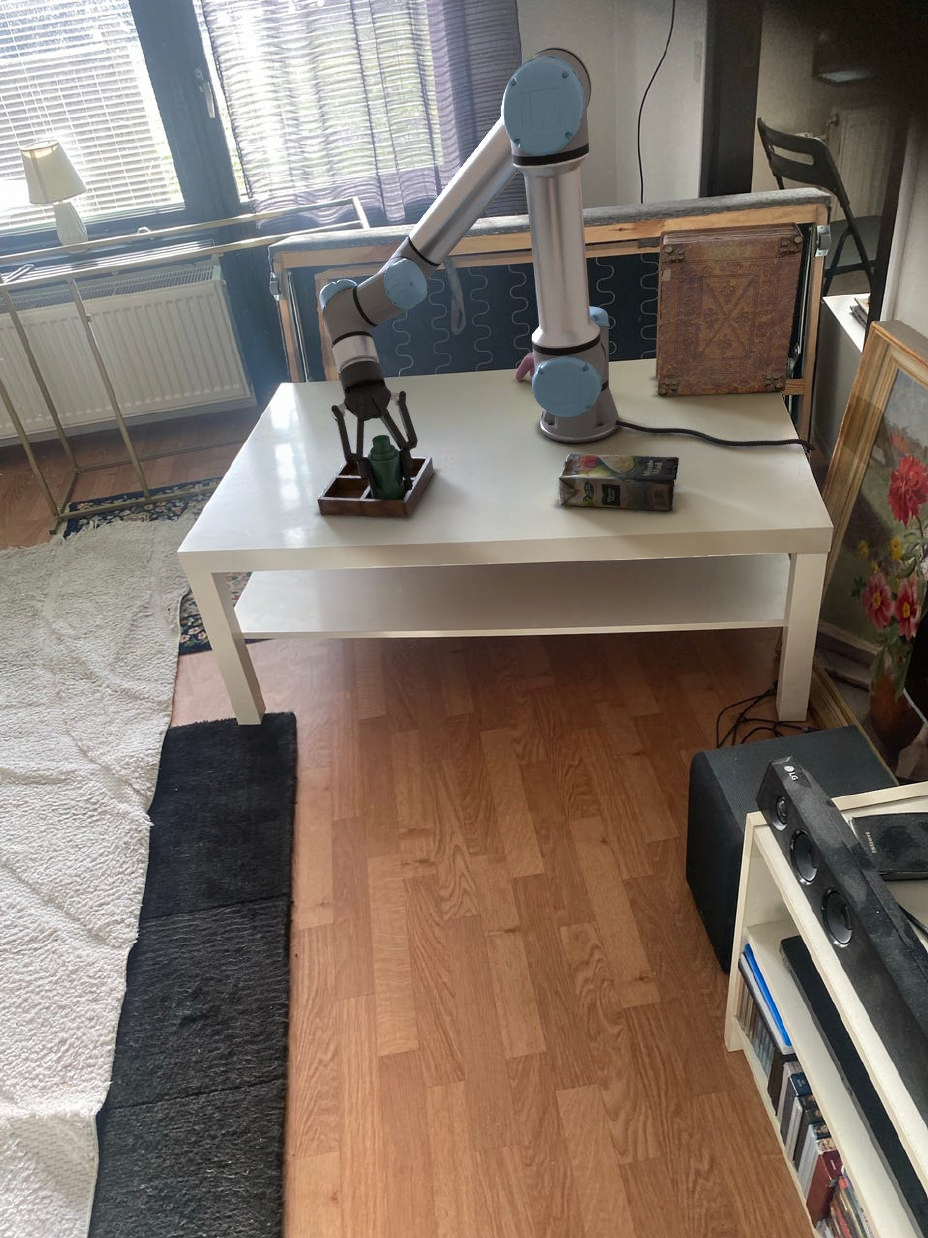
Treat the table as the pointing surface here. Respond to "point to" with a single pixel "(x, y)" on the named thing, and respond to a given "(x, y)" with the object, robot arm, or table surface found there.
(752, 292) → the book
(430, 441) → the table surface
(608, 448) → the table surface
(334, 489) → the tray
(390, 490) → the green bottle
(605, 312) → the robot arm
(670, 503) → the juice carton
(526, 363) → the video game controller
